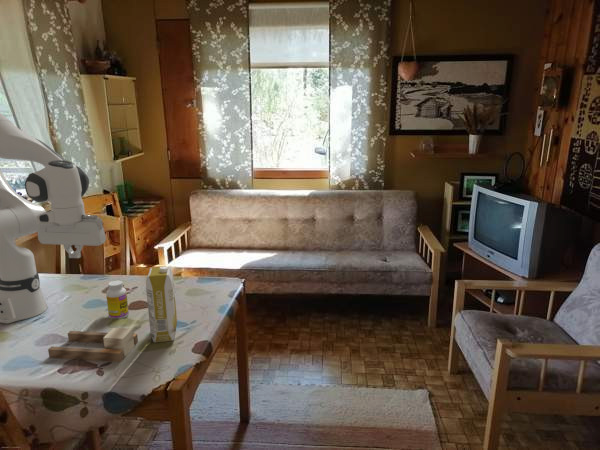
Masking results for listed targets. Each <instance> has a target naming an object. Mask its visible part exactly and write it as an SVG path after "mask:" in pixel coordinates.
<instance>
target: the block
mask: <svg viewBox="0 0 600 450" xmlns="http://www.w3.org/2000/svg"><path fill="white" fill-rule="evenodd" d="M133 331H134V330H133V328H127V327H126V328H125V327H112V329H111V330H110V331H108V332H107V333H108V334H107V335H106V336H105V337H104V338H103V339H104V343H103V344H104V345H103V346H104V349H115V350H122V351H123V358H125V357H127V355H128V354H129V353H130V352H131V351H132V349H134V348H135V345H134V338H133V334H134V332H133Z"/></svg>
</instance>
